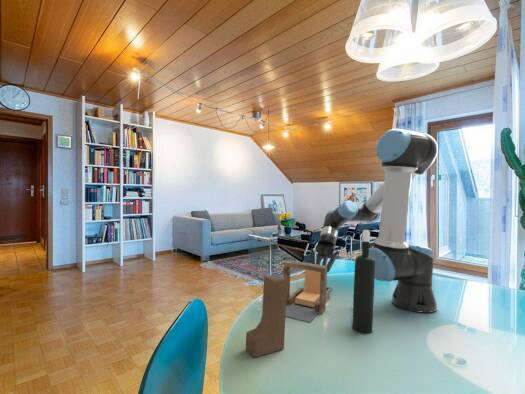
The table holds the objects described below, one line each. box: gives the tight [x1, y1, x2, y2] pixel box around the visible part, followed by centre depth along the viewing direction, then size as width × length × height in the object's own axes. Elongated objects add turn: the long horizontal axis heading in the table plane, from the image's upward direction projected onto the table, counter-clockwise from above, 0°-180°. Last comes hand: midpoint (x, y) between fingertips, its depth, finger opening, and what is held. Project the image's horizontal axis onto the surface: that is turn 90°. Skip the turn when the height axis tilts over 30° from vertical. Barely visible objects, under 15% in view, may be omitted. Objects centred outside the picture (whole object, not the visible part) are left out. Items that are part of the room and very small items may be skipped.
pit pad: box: [326, 286, 333, 293], centre depth 121 cm, size 8×8×1 cm
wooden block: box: [245, 274, 287, 358], centre depth 72 cm, size 9×4×18 cm, turn 122°
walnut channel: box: [282, 259, 331, 315], centre depth 107 cm, size 16×15×16 cm
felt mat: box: [285, 303, 320, 324], centre depth 96 cm, size 11×12×1 cm
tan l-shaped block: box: [294, 270, 321, 308], centre depth 108 cm, size 12×7×11 cm, turn 153°
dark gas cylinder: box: [351, 229, 376, 335], centre depth 86 cm, size 6×6×30 cm
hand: (315, 284), depth 115 cm, fingers closed
